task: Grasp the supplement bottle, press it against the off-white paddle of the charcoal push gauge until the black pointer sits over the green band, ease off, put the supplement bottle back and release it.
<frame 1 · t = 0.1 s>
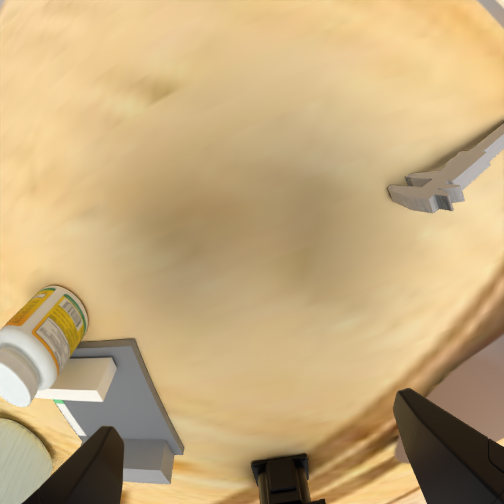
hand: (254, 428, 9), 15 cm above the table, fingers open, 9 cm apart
gauge paddle: (58, 378, 22), point 3 cm above the table, slide at 0.0 cm
caliper: (476, 138, 20), on the table
supplement bottle: (62, 310, 24), on the table
vase: (23, 436, 30), on the table
gauge base: (93, 379, 26), on the table
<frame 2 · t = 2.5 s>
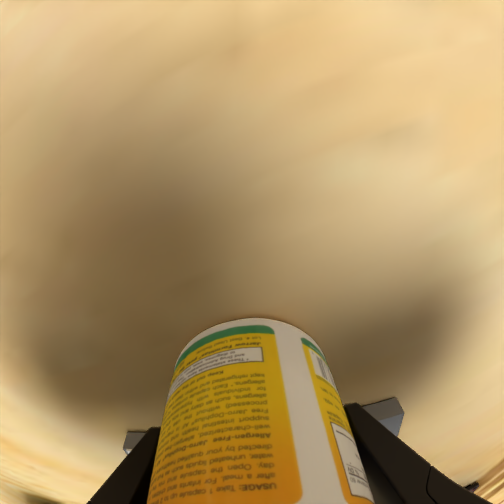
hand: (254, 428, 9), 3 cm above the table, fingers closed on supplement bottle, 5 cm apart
supplement bottle: (249, 370, 11), on the table, touching gripper
gauge base: (270, 473, 14), on the table
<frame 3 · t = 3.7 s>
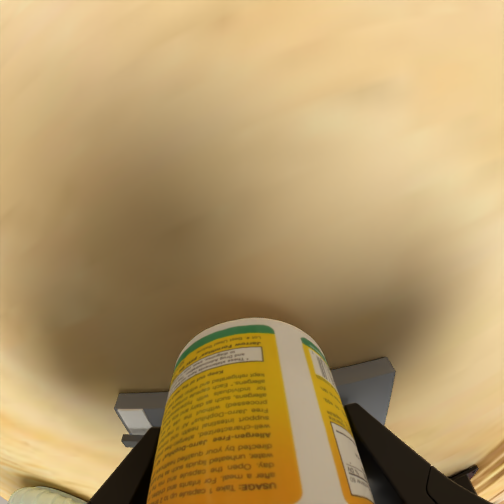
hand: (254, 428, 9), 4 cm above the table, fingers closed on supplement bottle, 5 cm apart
gauge paddle: (235, 470, 10), point 3 cm above the table, slide at 0.2 cm, touching supplement bottle
supplement bottle: (249, 370, 11), point 1 cm above the table, touching gauge paddle, gripper
gauge base: (263, 441, 14), on the table
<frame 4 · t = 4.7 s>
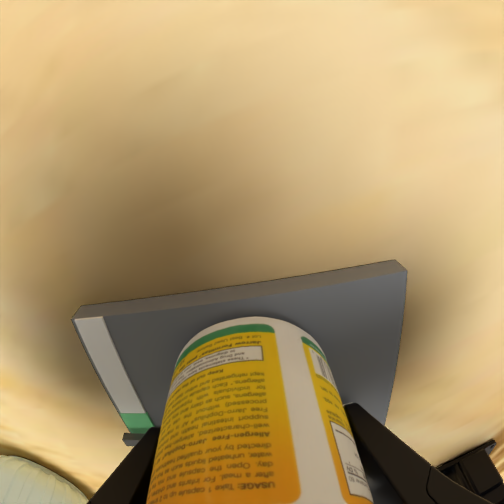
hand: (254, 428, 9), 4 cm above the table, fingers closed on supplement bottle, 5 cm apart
gauge paddle: (235, 468, 10), point 3 cm above the table, slide at 4.8 cm, touching supplement bottle
supplement bottle: (249, 369, 11), point 1 cm above the table, touching gauge paddle, gripper
vase: (46, 480, 17), on the table
gauge base: (250, 379, 13), on the table
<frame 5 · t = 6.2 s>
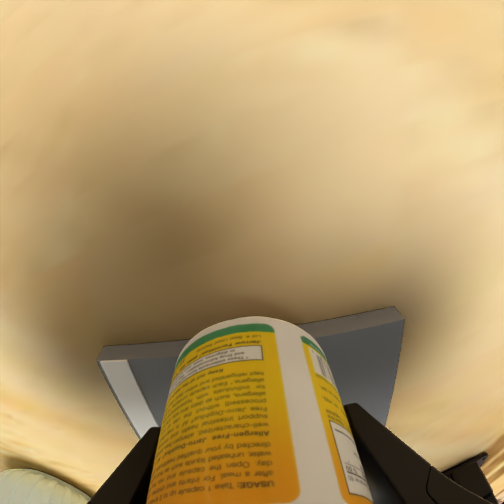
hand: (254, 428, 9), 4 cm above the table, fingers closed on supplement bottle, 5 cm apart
supplement bottle: (249, 368, 11), point 1 cm above the table, touching gripper
vase: (59, 490, 18), on the table
gauge base: (260, 407, 14), on the table
when the fingers open (3 cm above the table, at t = 7.3 s): supplement bottle stays where it is, on the table.
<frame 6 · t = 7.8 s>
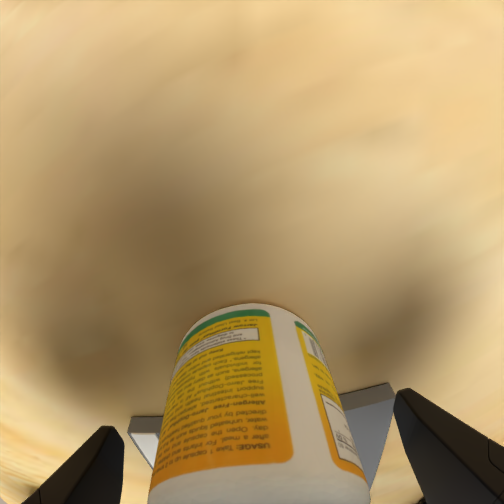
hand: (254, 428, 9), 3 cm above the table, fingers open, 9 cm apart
supplement bottle: (247, 354, 12), on the table
gauge base: (269, 458, 14), on the table
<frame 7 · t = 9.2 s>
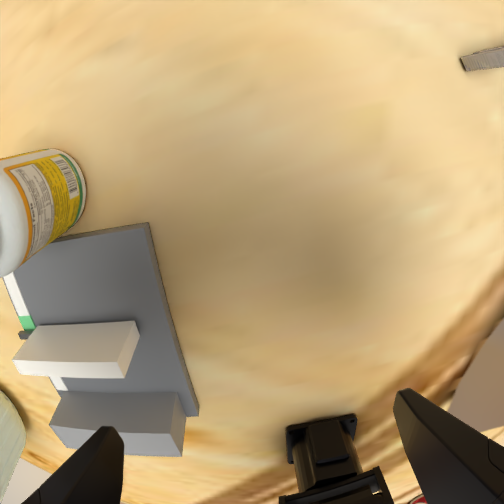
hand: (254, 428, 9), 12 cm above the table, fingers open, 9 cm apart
soda can: (421, 496, 39), on the table
gauge paddle: (61, 349, 17), point 3 cm above the table, slide at 4.8 cm
supplement bottle: (53, 189, 17), on the table
gauge base: (82, 297, 20), on the table
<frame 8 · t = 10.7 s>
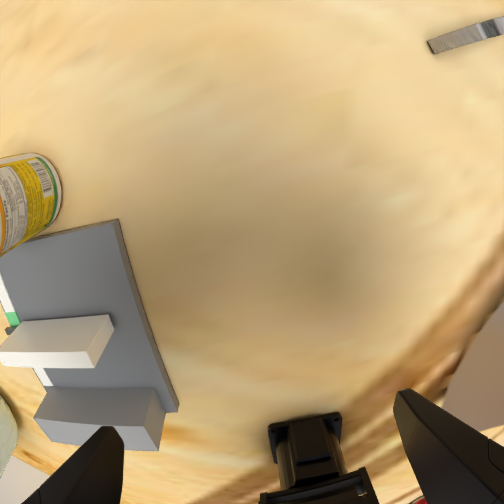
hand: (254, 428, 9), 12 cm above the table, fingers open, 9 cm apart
soda can: (422, 498, 38), on the table
gauge paddle: (41, 342, 17), point 3 cm above the table, slide at 4.8 cm
caliper: (501, 24, 14), on the table
supplement bottle: (33, 191, 17), on the table
gauge base: (62, 294, 20), on the table
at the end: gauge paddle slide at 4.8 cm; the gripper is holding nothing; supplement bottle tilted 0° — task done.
